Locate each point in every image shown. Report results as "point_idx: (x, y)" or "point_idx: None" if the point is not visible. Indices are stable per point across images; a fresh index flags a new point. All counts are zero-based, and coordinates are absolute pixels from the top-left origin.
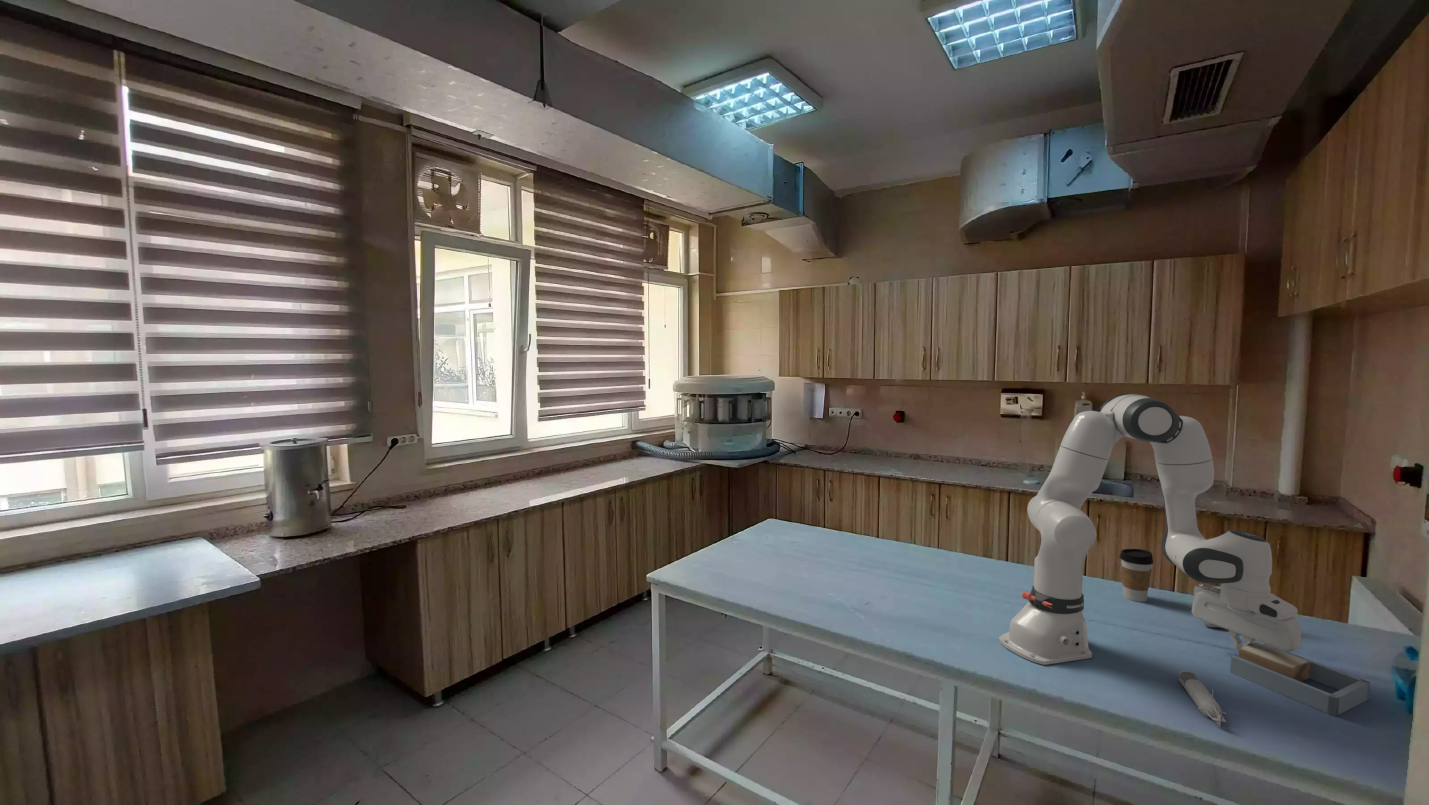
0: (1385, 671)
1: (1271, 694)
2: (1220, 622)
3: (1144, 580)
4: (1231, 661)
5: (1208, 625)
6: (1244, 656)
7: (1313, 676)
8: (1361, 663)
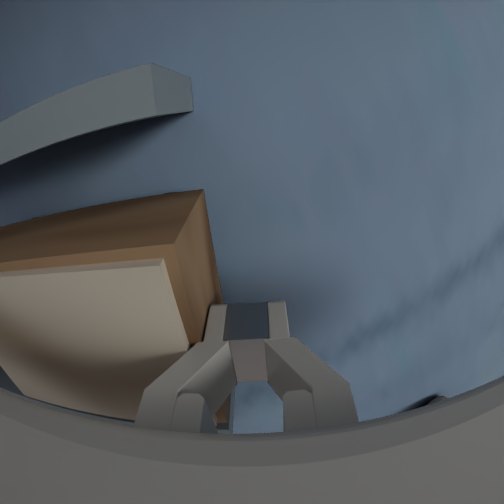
0: None
1: (8, 91)
2: (467, 449)
3: None
4: (163, 70)
5: (439, 400)
6: (147, 223)
7: None
8: None
